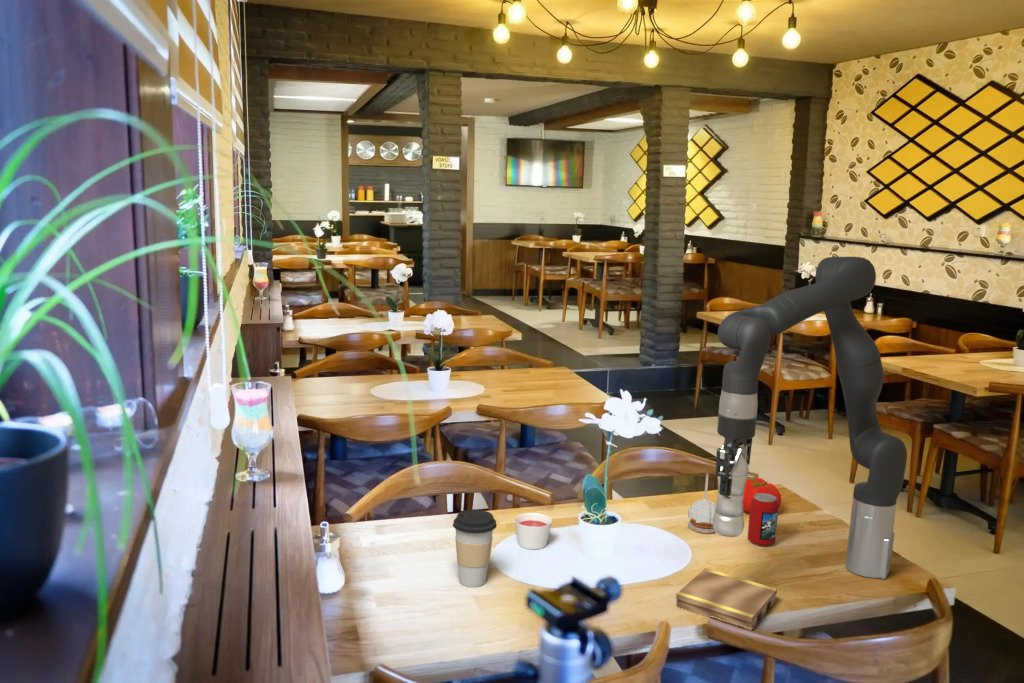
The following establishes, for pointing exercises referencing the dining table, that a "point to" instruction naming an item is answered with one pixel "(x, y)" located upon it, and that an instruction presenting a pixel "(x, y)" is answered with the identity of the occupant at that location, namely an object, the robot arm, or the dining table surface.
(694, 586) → the dock
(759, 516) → the beverage can
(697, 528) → the decorative ornament
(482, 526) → the coffee cup
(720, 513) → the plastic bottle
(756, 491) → the tomato
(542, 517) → the candle
